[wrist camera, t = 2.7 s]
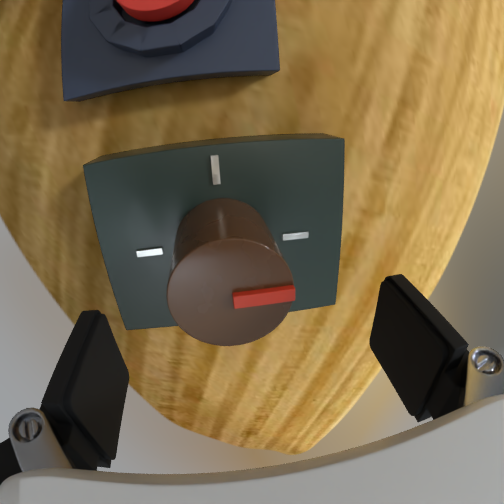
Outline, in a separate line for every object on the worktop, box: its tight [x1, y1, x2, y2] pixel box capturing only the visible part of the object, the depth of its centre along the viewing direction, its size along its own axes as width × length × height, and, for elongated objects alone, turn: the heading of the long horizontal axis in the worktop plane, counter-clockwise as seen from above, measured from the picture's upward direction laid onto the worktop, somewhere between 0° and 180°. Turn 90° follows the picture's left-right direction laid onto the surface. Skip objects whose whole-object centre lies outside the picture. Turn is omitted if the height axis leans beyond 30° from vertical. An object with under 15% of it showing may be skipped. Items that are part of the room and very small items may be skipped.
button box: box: [61, 0, 280, 101], centre depth 11 cm, size 11×9×4 cm
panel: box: [83, 133, 344, 330], centre depth 17 cm, size 13×10×3 cm
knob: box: [166, 198, 295, 346], centre depth 14 cm, size 5×5×5 cm
